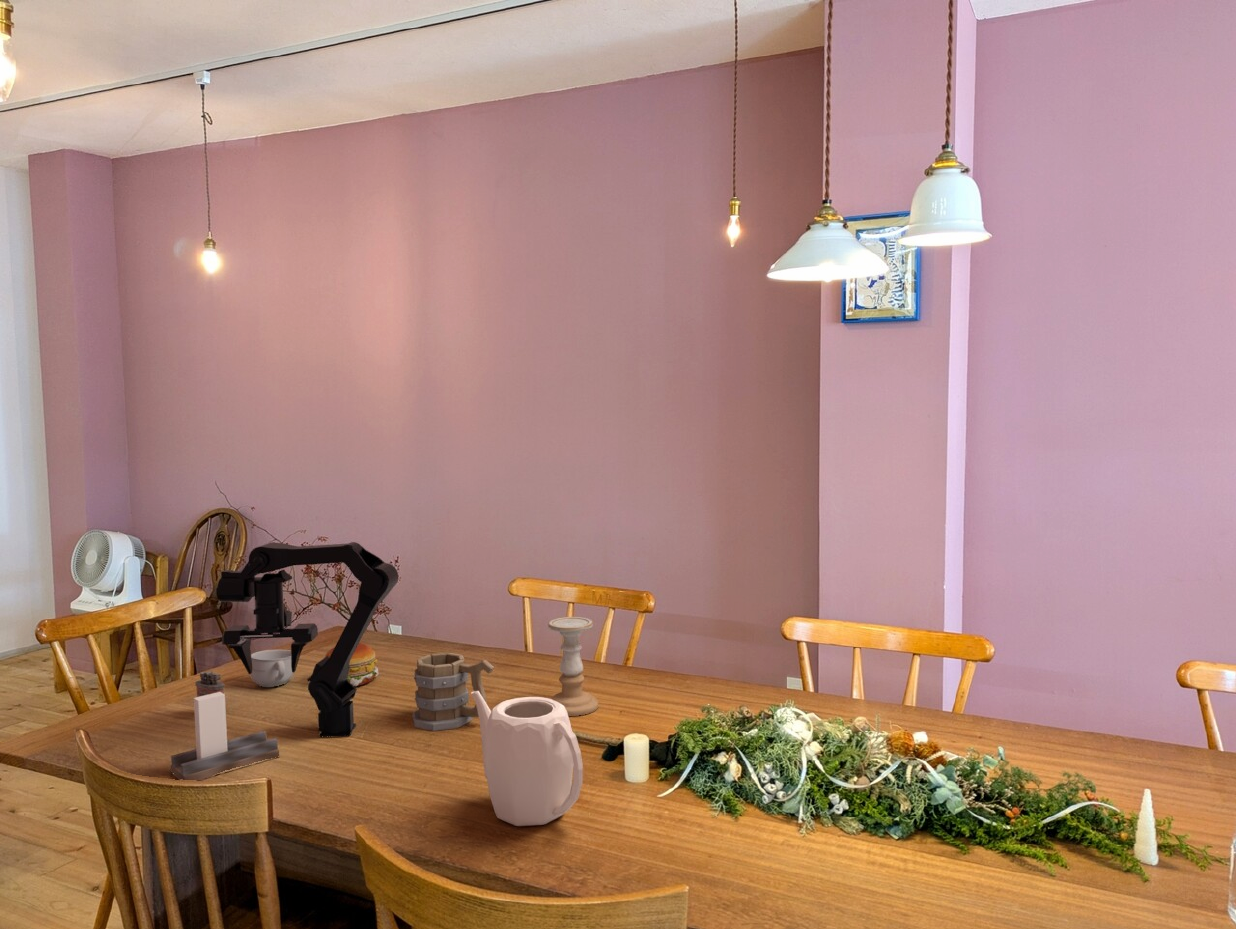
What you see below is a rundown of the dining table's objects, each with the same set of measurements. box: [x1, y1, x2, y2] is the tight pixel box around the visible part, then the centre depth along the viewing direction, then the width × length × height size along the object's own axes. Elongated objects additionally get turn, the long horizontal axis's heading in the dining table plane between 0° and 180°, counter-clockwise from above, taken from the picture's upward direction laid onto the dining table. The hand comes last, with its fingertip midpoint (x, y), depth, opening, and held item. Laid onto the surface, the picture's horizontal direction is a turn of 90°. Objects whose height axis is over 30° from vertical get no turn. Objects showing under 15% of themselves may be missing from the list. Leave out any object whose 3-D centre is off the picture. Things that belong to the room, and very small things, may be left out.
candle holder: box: [547, 616, 600, 717], centre depth 205 cm, size 12×12×20 cm
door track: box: [170, 730, 280, 781], centre depth 176 cm, size 18×8×4 cm, turn 134°
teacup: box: [250, 649, 295, 688], centre depth 224 cm, size 14×11×8 cm
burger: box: [324, 642, 379, 687], centre depth 227 cm, size 14×14×10 cm
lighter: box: [195, 670, 225, 697], centre depth 204 cm, size 8×3×10 cm, turn 62°
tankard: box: [412, 652, 495, 732], centre depth 197 cm, size 20×13×15 cm, turn 62°
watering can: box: [470, 690, 584, 827], centre depth 154 cm, size 16×27×19 cm, turn 50°
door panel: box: [193, 692, 228, 759], centre depth 174 cm, size 5×2×13 cm, turn 134°
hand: (272, 672), depth 193 cm, fingers open, 9 cm apart
